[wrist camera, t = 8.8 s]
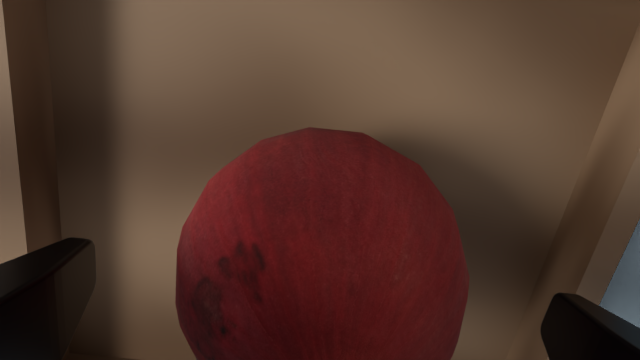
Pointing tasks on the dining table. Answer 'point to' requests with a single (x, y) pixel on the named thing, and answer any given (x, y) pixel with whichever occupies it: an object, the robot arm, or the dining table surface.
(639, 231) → the dining table surface
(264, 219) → the onion
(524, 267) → the tray
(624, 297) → the dining table surface
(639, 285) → the dining table surface
